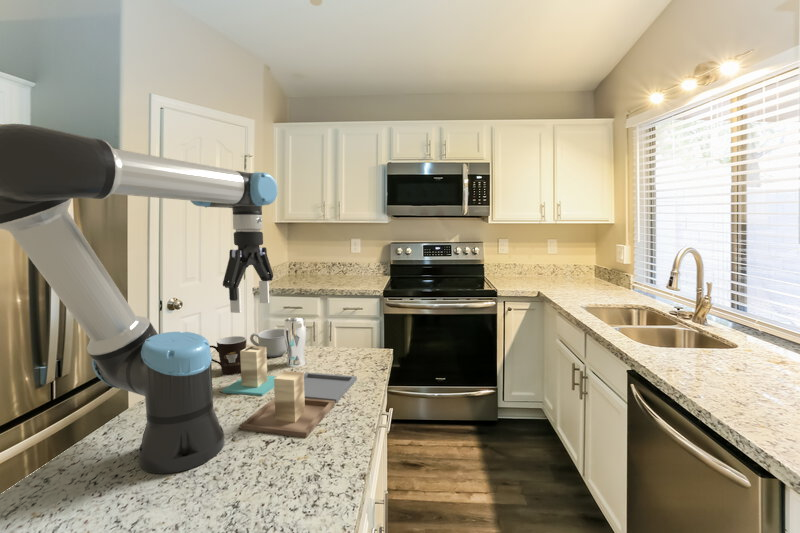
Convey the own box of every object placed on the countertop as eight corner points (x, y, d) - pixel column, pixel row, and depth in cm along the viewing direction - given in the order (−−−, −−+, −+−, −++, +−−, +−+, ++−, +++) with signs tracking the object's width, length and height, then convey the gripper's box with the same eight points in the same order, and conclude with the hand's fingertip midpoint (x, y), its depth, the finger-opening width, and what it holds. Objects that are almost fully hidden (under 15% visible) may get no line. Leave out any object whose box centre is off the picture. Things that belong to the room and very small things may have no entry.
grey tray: (336, 403, 102) (336, 399, 102) (279, 398, 105) (279, 393, 105) (356, 380, 117) (356, 376, 117) (306, 376, 121) (306, 372, 121)
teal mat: (262, 396, 106) (262, 393, 106) (222, 392, 109) (222, 389, 109) (284, 379, 118) (284, 377, 118) (248, 376, 121) (248, 373, 121)
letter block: (257, 387, 110) (256, 351, 109) (241, 385, 111) (240, 350, 110) (267, 380, 115) (266, 346, 114) (252, 379, 116) (250, 345, 115)
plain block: (295, 422, 92) (293, 380, 91) (275, 420, 93) (273, 378, 92) (304, 412, 97) (303, 372, 96) (286, 410, 98) (284, 371, 97)
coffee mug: (252, 366, 129) (251, 336, 128) (239, 376, 121) (238, 344, 120) (218, 365, 130) (217, 335, 129) (203, 375, 122) (201, 343, 121)
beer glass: (281, 367, 129) (279, 321, 127) (291, 360, 135) (290, 316, 134) (300, 368, 127) (299, 322, 126) (310, 361, 134) (309, 317, 132)
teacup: (296, 351, 145) (295, 329, 145) (279, 360, 135) (278, 337, 134) (262, 348, 149) (261, 327, 148) (244, 357, 139) (243, 334, 138)
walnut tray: (306, 438, 85) (306, 432, 85) (240, 430, 89) (239, 424, 89) (334, 405, 101) (334, 401, 101) (277, 399, 104) (277, 395, 104)
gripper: (231, 231, 96) (235, 317, 98) (283, 230, 120) (285, 300, 122) (204, 231, 98) (208, 316, 100) (261, 230, 122) (263, 299, 124)
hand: (251, 307), depth 111 cm, fingers open, 13 cm apart
